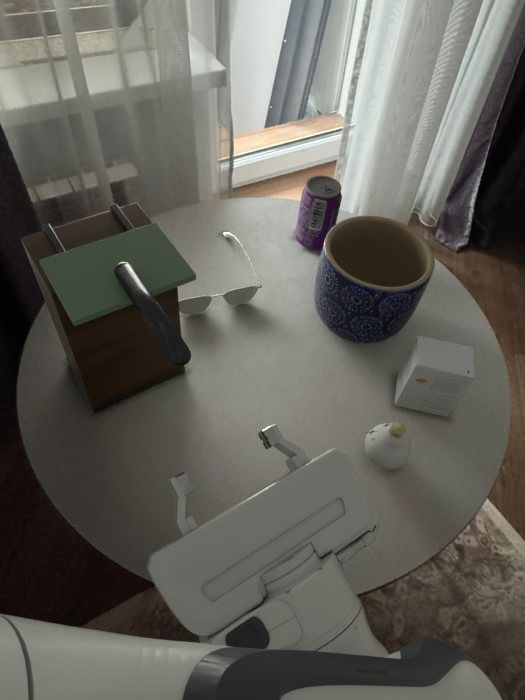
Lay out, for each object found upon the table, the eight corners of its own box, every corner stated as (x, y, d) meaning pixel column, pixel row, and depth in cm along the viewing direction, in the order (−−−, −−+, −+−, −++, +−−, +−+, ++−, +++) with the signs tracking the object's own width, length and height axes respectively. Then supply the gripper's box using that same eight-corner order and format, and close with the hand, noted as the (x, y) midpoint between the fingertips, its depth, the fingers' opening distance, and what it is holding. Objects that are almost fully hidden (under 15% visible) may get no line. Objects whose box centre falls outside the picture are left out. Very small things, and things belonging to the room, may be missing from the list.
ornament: (409, 473, 69) (434, 439, 61) (357, 480, 68) (376, 447, 60) (395, 434, 72) (417, 397, 64) (345, 440, 71) (362, 403, 63)
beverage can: (338, 244, 96) (352, 190, 87) (309, 257, 94) (320, 203, 84) (316, 223, 100) (327, 169, 90) (287, 235, 97) (295, 180, 87)
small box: (447, 388, 78) (475, 346, 70) (447, 418, 75) (476, 378, 66) (395, 376, 79) (417, 333, 70) (393, 406, 75) (415, 365, 67)
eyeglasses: (172, 319, 82) (170, 302, 79) (149, 246, 92) (146, 229, 89) (261, 300, 86) (263, 284, 83) (229, 233, 96) (230, 216, 93)
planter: (332, 366, 79) (352, 301, 67) (294, 291, 88) (306, 223, 76) (423, 343, 83) (458, 279, 71) (378, 275, 92) (402, 207, 80)
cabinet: (185, 372, 76) (175, 246, 56) (94, 414, 71) (48, 290, 51) (155, 327, 81) (136, 196, 61) (68, 362, 75) (17, 231, 56)
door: (247, 346, 48) (249, 327, 46) (117, 406, 43) (112, 388, 41) (156, 227, 58) (153, 207, 56) (40, 265, 53) (33, 244, 51)
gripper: (405, 530, 44) (325, 393, 47) (201, 680, 36) (118, 504, 39) (371, 532, 50) (302, 410, 53) (188, 662, 42) (117, 509, 44)
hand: (222, 450), depth 46 cm, fingers open, 8 cm apart
